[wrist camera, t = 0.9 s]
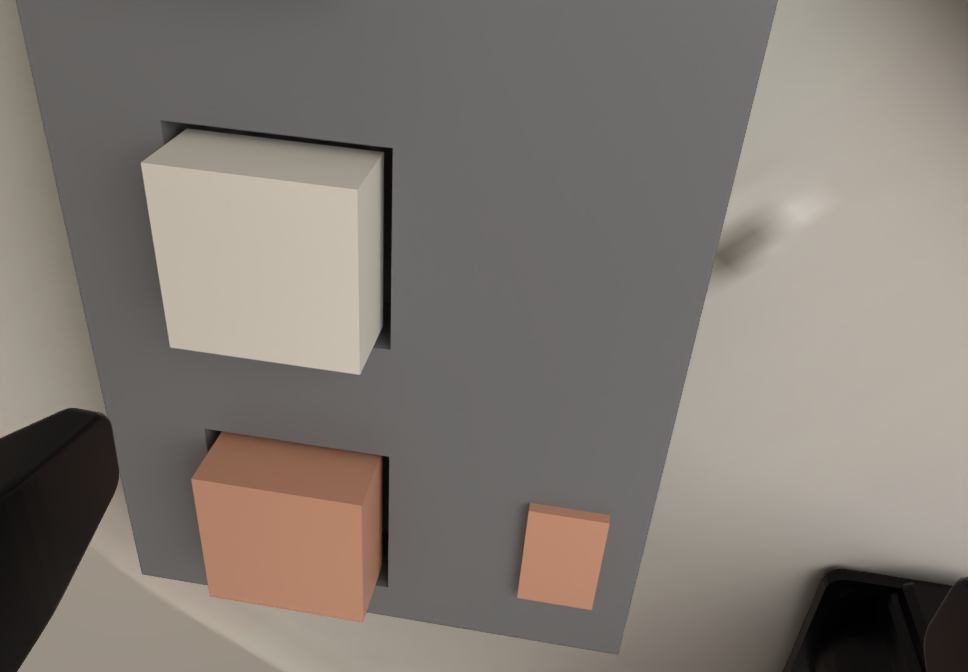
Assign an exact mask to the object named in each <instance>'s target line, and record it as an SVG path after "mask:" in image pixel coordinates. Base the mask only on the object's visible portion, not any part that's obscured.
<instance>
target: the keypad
mask: <svg viewBox="0 0 968 672" xmlns="http://www.w3.org/2000/svg"><path fill="white" fill-rule="evenodd" d="M777 2H778V0H16V3H17V7H18V12H19V16H20V21H21V26H22V30H23V35H24V39H25V44H26V48H27V53H28V57H29V62H30V66H31V71H32V76H33V80H34V85H35V89H36V94H37V98H38V103H39V107H40V112H41V116H42V121H43V126H44V130H45V135H46V139H47V144H48V148H49V153H50V157H51V162H52V167H53V171H54V176H55V180H56V185H57V189H58V194H59V198H60V203H61V207H62V212H63V217H64V221H65V226H66V230H67V235H68V239H69V244H70V248H71V253H72V257H73V262H74V267H75V271H76V276H77V280H78V285H79V289H80V294H81V298H82V303H83V308H84V312H85V317H86V321H87V326H88V330H89V335H90V339H91V344H92V348H93V353H94V358H95V362H96V367H97V371H98V376H99V380H100V385H101V389H102V394H103V398H104V403H105V408H106V412H107V417H108V418H109V420H110V421H111V424H112V429H113V435H114V441H115V447H116V453H117V459H118V465H119V471H120V476H121V480H122V485H123V489H124V494H125V499H126V503H127V508H128V512H129V517H130V521H131V526H132V530H133V535H134V539H135V544H136V549H137V553H138V558H139V562H140V567H141V571H142V574H144V575H150V576H156V577H162V578H168V579H174V580H180V581H185V582H191V583H197V584H203V585H208V581H207V575H206V569H205V563H204V556H203V550H202V544H201V538H200V531H199V525H198V519H197V512H196V506H195V500H194V494H193V487H192V481H191V478H192V477H193V475H194V474H195V472H196V471H197V469H198V468H199V466H200V464H201V463H202V461H203V460H204V458H205V457H206V455H207V454H208V452H209V451H210V449H211V448H212V446H213V444H214V443H215V441H216V440H217V438H218V437H219V435H220V434H221V432H222V431H224V432H230V433H237V434H243V435H250V436H257V437H263V438H270V439H276V440H283V441H289V442H296V443H302V444H309V445H315V446H322V447H329V448H335V449H342V450H348V451H355V452H361V453H368V454H374V455H381V456H383V464H382V566H381V569H380V572H379V576H378V579H377V582H376V585H375V588H374V591H373V594H372V597H371V600H370V603H369V606H368V609H367V612H369V613H374V614H380V615H386V616H392V617H398V618H404V619H410V620H416V621H422V622H428V623H433V624H439V625H445V626H451V627H457V628H463V629H469V630H475V631H481V632H487V633H493V634H498V635H504V636H510V637H516V638H522V639H528V640H534V641H540V642H546V643H552V644H557V645H563V646H569V647H575V648H581V649H587V650H593V651H599V652H605V653H611V654H617V655H618V653H619V648H620V644H621V640H622V636H623V632H624V628H625V624H626V620H627V616H628V612H629V608H630V603H631V599H632V595H633V591H634V587H635V583H636V579H637V575H638V571H639V567H640V563H641V558H642V554H643V550H644V546H645V542H646V538H647V534H648V530H649V526H650V522H651V518H652V513H653V509H654V505H655V501H656V497H657V493H658V489H659V485H660V481H661V477H662V473H663V468H664V464H665V460H666V456H667V452H668V448H669V444H670V440H671V436H672V432H673V427H674V423H675V419H676V415H677V411H678V407H679V403H680V399H681V395H682V391H683V387H684V382H685V378H686V374H687V370H688V366H689V362H690V358H691V354H692V350H693V346H694V342H695V337H696V333H697V329H698V325H699V321H700V317H701V313H702V309H703V305H704V301H705V297H706V292H707V288H708V284H709V280H710V276H711V272H712V268H713V264H714V260H715V256H716V252H717V247H718V243H719V239H720V235H721V231H722V227H723V223H724V219H725V215H726V211H727V207H728V202H729V198H730V194H731V190H732V186H733V182H734V178H735V174H736V170H737V166H738V162H739V157H740V153H741V149H742V145H743V141H744V137H745V133H746V129H747V125H748V121H749V117H750V112H751V108H752V104H753V100H754V96H755V92H756V88H757V84H758V80H759V76H760V72H761V67H762V63H763V59H764V55H765V51H766V47H767V43H768V39H769V35H770V31H771V27H772V22H773V18H774V14H775V10H776V6H777ZM187 128H188V129H197V130H205V131H213V132H221V133H230V134H238V135H246V136H254V137H263V138H271V139H279V140H288V141H296V142H304V143H312V144H321V145H329V146H337V147H345V148H354V149H362V150H370V151H378V152H384V257H383V327H382V329H381V331H380V333H379V336H378V338H377V340H376V342H375V344H374V346H373V348H372V350H371V352H370V355H369V357H368V359H367V361H366V363H365V365H364V367H363V369H362V371H361V374H360V375H357V374H350V373H343V372H337V371H330V370H323V369H316V368H309V367H302V366H295V365H288V364H281V363H274V362H267V361H260V360H254V359H247V358H240V357H233V356H226V355H219V354H212V353H205V352H198V351H191V350H184V349H177V348H171V347H170V343H169V337H168V331H167V325H166V318H165V312H164V306H163V300H162V293H161V287H160V281H159V275H158V268H157V262H156V256H155V249H154V243H153V237H152V231H151V224H150V218H149V212H148V206H147V199H146V193H145V187H144V181H143V174H142V168H141V162H142V161H144V160H145V159H146V158H148V157H149V156H150V155H152V154H153V153H154V152H156V151H157V150H159V149H160V148H161V147H163V146H164V145H165V144H167V143H168V142H169V141H171V140H172V139H174V138H175V137H176V136H178V135H179V134H180V133H182V132H183V131H184V130H186V129H187Z"/></svg>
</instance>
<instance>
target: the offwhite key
mask: <svg viewBox="0 0 968 672" xmlns="http://www.w3.org/2000/svg"><path fill="white" fill-rule="evenodd" d="M141 168H142V174H143V181H144V187H145V193H146V199H147V206H148V212H149V218H150V224H151V231H152V237H153V243H154V249H155V256H156V262H157V268H158V275H159V281H160V287H161V293H162V300H163V306H164V312H165V318H166V325H167V331H168V337H169V343H170V347H171V348H177V349H184V350H191V351H198V352H205V353H212V354H219V355H226V356H233V357H240V358H247V359H254V360H260V361H267V362H274V363H281V364H288V365H295V366H302V367H309V368H316V369H323V370H330V371H337V372H343V373H350V374H357V375H360V374H361V371H362V369H363V367H364V365H365V363H366V361H367V359H368V357H369V355H370V352H371V350H372V348H373V346H374V344H375V342H376V340H377V338H378V336H379V333H380V331H381V329H382V327H383V257H384V152H378V151H370V150H362V149H354V148H345V147H337V146H329V145H321V144H312V143H304V142H296V141H288V140H279V139H271V138H263V137H254V136H246V135H238V134H230V133H221V132H213V131H205V130H197V129H188V128H187V129H186V130H184V131H183V132H182V133H180V134H179V135H178V136H176V137H175V138H174V139H172V140H171V141H169V142H168V143H167V144H165V145H164V146H163V147H161V148H160V149H159V150H157V151H156V152H154V153H153V154H152V155H150V156H149V157H148V158H146V159H145V160H144V161H142V162H141Z"/></svg>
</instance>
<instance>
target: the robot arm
mask: <svg viewBox="0 0 968 672" xmlns="http://www.w3.org/2000/svg"><path fill="white" fill-rule="evenodd" d="M118 480H119V465H118V459H117V453H116V447H115V441H114V435H113V429H112V424H111V421H110V420H109V418H108V417H107V416H106V415H104V414H103V413H99V412H94V411H88V410H83V409H78V408H68V409H65V410H62V411H60V412H57V413H55V414H53V415H51V416H49V417H46V418H44V419H42V420H40V421H37V422H35V423H33V424H31V425H29V426H26V427H24V428H22V429H20V430H18V431H15V432H13V433H11V434H9V435H6V436H4V437H2V438H0V672H17V671H18V669H19V668H20V666H21V665H22V663H23V662H24V660H25V658H26V657H27V655H28V654H29V652H30V651H31V649H32V647H33V646H34V644H35V643H36V641H37V640H38V638H39V636H40V635H41V633H42V632H43V630H44V629H45V627H46V625H47V624H48V622H49V620H50V619H51V617H52V615H53V614H54V612H55V610H56V608H57V606H58V604H59V603H60V601H61V599H62V597H63V595H64V593H65V591H66V589H67V587H68V585H69V583H70V581H71V579H72V577H73V575H74V573H75V571H76V569H77V567H78V565H79V563H80V561H81V559H82V557H83V555H84V553H85V551H86V549H87V547H88V545H89V543H90V541H91V539H92V537H93V535H94V533H95V531H96V529H97V527H98V525H99V523H100V521H101V519H102V517H103V515H104V513H105V511H106V509H107V507H108V505H109V503H110V501H111V499H112V497H113V495H114V493H115V491H116V488H117V485H118ZM838 586H843V587H838ZM783 672H968V577H963V578H960V579H959V580H957V581H956V582H955V583H954V584H953V586H949V585H943V584H936V583H930V582H923V581H917V580H911V579H904V578H898V577H892V576H885V575H879V574H873V573H866V572H860V571H853V570H847V569H836V570H832V571H830V572H828V573H827V574H825V576H824V577H823V578H822V581H821V583H820V586H819V588H818V590H817V593H816V595H815V598H814V600H813V602H812V605H811V607H810V609H809V612H808V614H807V617H806V619H805V621H804V624H803V626H802V629H801V631H800V633H799V636H798V638H797V640H796V643H795V645H794V648H793V650H792V652H791V655H790V657H789V660H788V662H787V664H786V667H785V669H784V671H783Z"/></svg>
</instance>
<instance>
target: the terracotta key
mask: <svg viewBox="0 0 968 672" xmlns="http://www.w3.org/2000/svg"><path fill="white" fill-rule="evenodd" d="M382 464H383V456H381V455H374V454H368V453H361V452H355V451H348V450H342V449H335V448H329V447H322V446H315V445H309V444H302V443H296V442H289V441H283V440H276V439H270V438H263V437H257V436H250V435H243V434H237V433H230V432H224V431H222V432H221V434H220V435H219V437H218V438H217V440H216V441H215V443H214V444H213V446H212V448H211V449H210V451H209V452H208V454H207V455H206V457H205V458H204V460H203V461H202V463H201V464H200V466H199V468H198V469H197V471H196V472H195V474H194V475H193V477H192V478H191V481H192V487H193V494H194V500H195V506H196V512H197V519H198V525H199V531H200V538H201V544H202V550H203V556H204V563H205V569H206V575H207V581H208V588H209V594H210V596H212V597H218V598H223V599H229V600H235V601H241V602H247V603H253V604H259V605H265V606H270V607H276V608H282V609H288V610H294V611H300V612H306V613H311V614H317V615H323V616H329V617H335V618H341V619H347V620H353V621H358V622H363V621H364V618H365V615H366V612H367V609H368V606H369V603H370V600H371V597H372V594H373V591H374V588H375V585H376V582H377V579H378V576H379V572H380V569H381V566H382Z"/></svg>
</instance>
